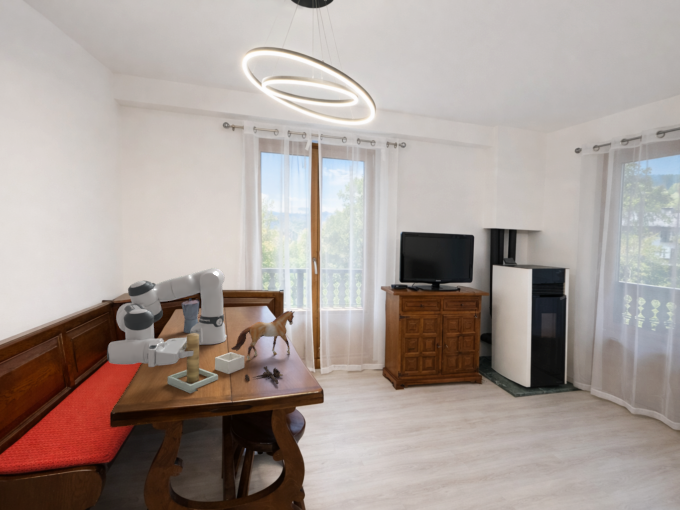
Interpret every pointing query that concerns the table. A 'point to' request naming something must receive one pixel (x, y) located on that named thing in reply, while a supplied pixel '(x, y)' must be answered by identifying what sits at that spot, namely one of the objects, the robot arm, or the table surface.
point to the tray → (191, 388)
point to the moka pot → (190, 314)
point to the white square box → (229, 362)
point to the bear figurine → (267, 375)
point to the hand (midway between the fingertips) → (195, 348)
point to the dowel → (193, 358)
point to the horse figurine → (266, 332)
